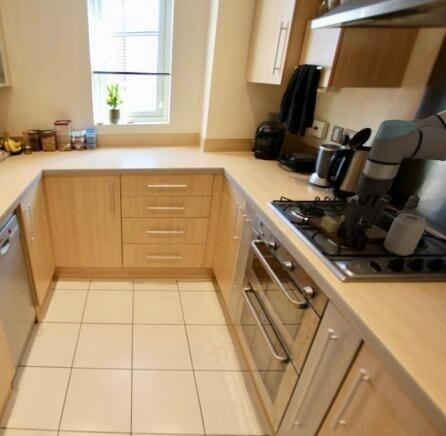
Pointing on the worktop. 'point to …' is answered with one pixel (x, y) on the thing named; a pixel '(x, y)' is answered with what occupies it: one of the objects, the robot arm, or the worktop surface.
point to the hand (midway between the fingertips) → (351, 243)
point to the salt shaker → (410, 205)
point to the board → (373, 234)
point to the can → (404, 234)
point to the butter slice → (329, 224)
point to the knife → (359, 240)
